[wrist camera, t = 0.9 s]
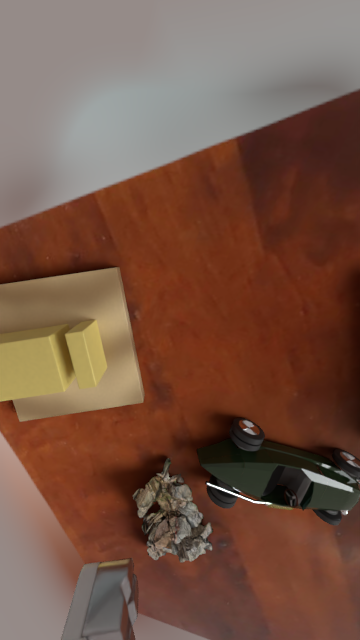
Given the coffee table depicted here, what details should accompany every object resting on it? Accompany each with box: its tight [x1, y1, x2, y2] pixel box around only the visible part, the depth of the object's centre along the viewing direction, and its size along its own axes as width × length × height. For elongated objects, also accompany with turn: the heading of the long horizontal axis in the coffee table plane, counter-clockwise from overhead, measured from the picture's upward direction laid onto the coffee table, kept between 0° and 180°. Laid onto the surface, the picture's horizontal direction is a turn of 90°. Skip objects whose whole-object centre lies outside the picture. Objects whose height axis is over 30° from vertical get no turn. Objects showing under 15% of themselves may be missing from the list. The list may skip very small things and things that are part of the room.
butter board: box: [0, 267, 145, 422], centre depth 25 cm, size 14×13×2 cm
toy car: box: [197, 418, 360, 525], centre depth 28 cm, size 9×20×5 cm, turn 73°
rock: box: [133, 458, 213, 562], centre depth 29 cm, size 8×15×4 cm, turn 7°
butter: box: [0, 324, 76, 402], centre depth 22 cm, size 5×7×4 cm
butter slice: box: [65, 320, 107, 389], centre depth 22 cm, size 5×2×4 cm, turn 8°
